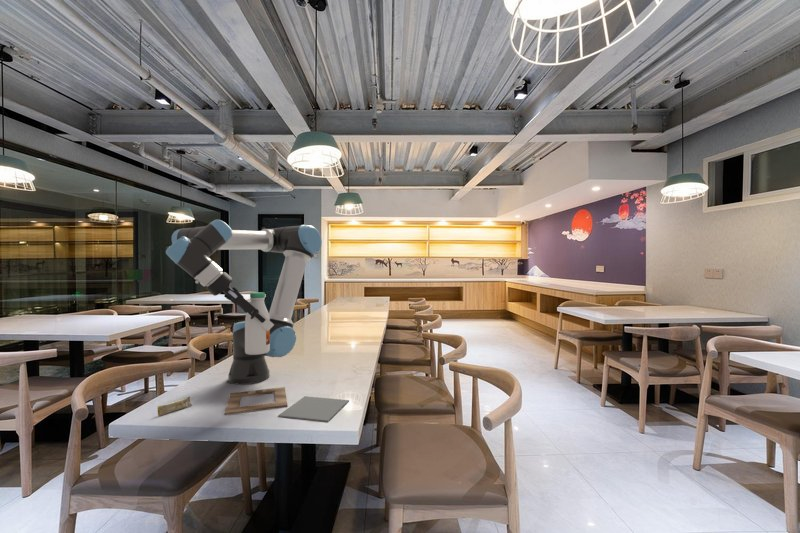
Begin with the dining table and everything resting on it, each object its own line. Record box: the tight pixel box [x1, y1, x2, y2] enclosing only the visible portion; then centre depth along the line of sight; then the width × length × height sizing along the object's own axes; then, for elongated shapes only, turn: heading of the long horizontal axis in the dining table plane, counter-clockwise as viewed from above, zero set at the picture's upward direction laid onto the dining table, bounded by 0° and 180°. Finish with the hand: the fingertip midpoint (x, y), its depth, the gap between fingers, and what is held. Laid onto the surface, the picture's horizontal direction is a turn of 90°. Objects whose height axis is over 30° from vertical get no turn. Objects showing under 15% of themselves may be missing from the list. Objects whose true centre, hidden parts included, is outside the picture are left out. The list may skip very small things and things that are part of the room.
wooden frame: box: [224, 386, 288, 416], centre depth 118 cm, size 18×18×1 cm
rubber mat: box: [277, 395, 350, 423], centre depth 111 cm, size 16×16×1 cm
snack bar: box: [157, 396, 193, 417], centre depth 110 cm, size 10×2×3 cm, turn 146°
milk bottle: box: [244, 291, 270, 355], centre depth 118 cm, size 8×8×20 cm
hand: (268, 325), depth 120 cm, fingers closed on milk bottle, 7 cm apart
